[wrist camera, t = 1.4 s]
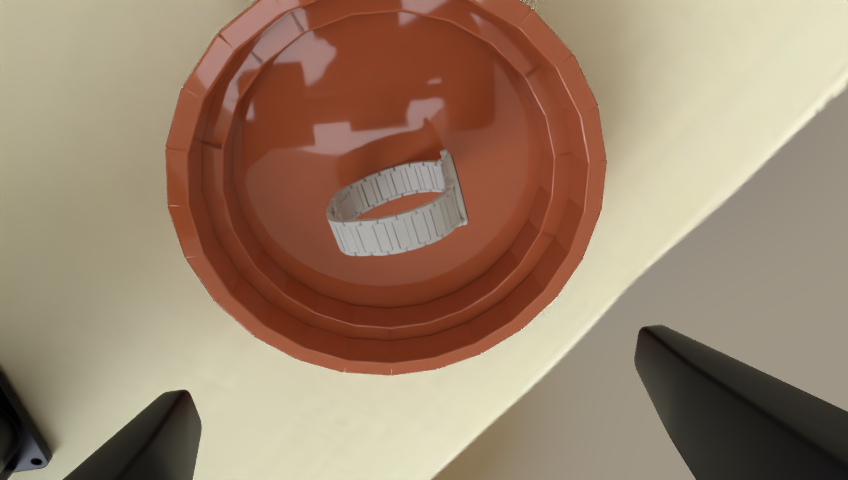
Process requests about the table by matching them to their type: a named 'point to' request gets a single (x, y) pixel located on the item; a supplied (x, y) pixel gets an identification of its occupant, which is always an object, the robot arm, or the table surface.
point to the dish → (376, 150)
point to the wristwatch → (400, 230)
